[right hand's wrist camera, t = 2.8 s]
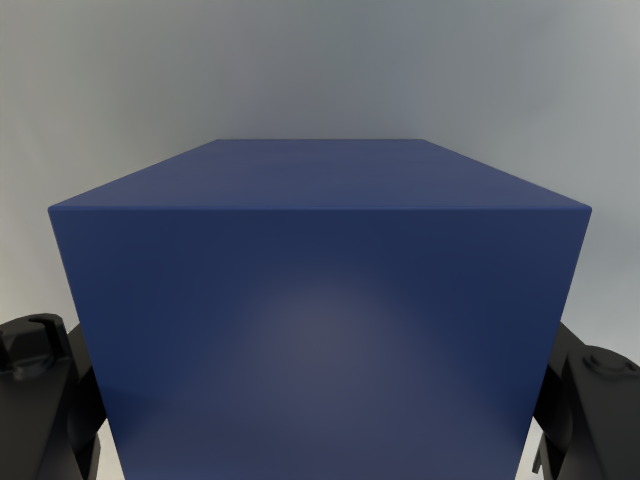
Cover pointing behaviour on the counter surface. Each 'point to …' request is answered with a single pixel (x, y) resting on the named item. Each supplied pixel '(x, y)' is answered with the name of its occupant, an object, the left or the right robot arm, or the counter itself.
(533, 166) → the counter surface
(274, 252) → the block
